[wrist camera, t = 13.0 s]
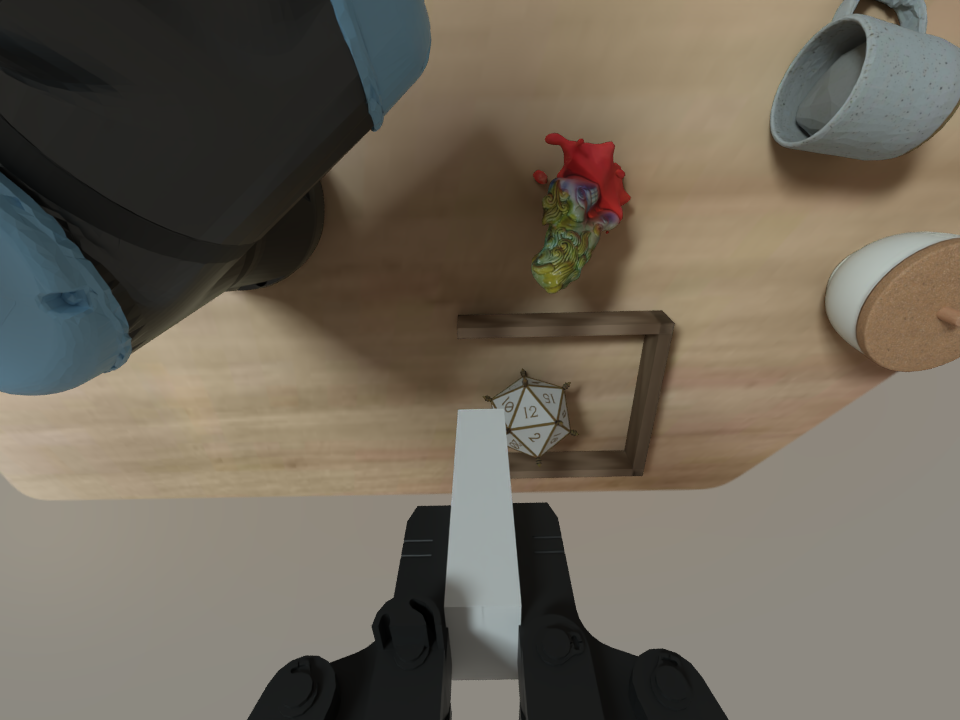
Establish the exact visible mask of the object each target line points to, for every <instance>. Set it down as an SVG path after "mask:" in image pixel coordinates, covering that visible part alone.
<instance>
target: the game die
mask: <svg viewBox="0 0 960 720" xmlns="http://www.w3.org/2000/svg"><path fill="white" fill-rule="evenodd" d="M520 373H521V375H522V378H520V379H519V380H517V381H516V382H515V383H513V384H512V385H510V386H509V387H508V388H506V389H505V390H503V391H502V392H501V393H499V394H498V395H496V396H495V397H493V398H490V396H488V395H487V396H483V398H484V399H485V401H487V402H488V401H490V402H491V405H492V409H504V415H505V426H506V437H507V447H510V448H512V449H515V450H517V451H520V452H522V453H525V454H527V455H530V456H532V457H535V458H536V464H537V465H538V466H539V468H540V466H541V464H542V463H541V461H542V460H541V459H540V457H541V456H542V455H544V454H545V453H546V452H547V451H548V450H550V449H551V448H552V447H553V446H554V445H556V444H557V443H558V442H559V441H560V440H562V439H563V438H564V437H565V436H567V435H568V434H569V433H570V434H571V435H574V436H576V435H579V434H578V433H577V432H576V431H574V430H571V429H570V422H569V416H568V410H567V403H566V397H565V391H564V390H565V389H568V387H569V386H570V383H571V382H568V383H566V382H565V384H563V387H560V386H556V385H553V384H550V383H546V382H543V381H540V380H536V379H533V378H529V377H526V371H524V370H523V368H522V371H521V372H520Z"/></svg>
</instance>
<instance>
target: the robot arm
mask: <svg viewBox="0 0 960 720" xmlns="http://www.w3.org/2000/svg"><path fill="white" fill-rule="evenodd" d="M430 46H431V33H430V22H429V17H428V13H427V10H426V6H425V3H424V0H0V391H1V392H5V393H8V394H15V395H48V394H54V393H59V392H63V391H67V390H70V389H73V388H75V387H78V386H80V385H82V384H84V383H85V382H87V381H89V380H91V379H93V378H94V377H96V376H98V375H100V374H102V373H107V372H110V371H112V370H116V369H118V368H119V367H121V366H122V365H123V364H124V363H126V362H127V360H128V358H129V356H130V354H132V353H133V352H135V351H136V350H138V349H139V348H141V347H142V346H144V345H145V344H147V343H148V342H150V341H151V340H153V339H154V338H156V337H157V336H159V335H160V334H162V333H163V332H165V331H166V330H168V329H169V328H171V327H172V326H174V325H175V324H177V323H178V322H180V321H181V320H183V319H184V318H186V317H187V316H189V315H190V314H192V313H193V312H195V311H196V310H198V309H199V308H201V307H202V306H204V305H205V304H207V303H208V302H210V301H211V300H213V299H214V298H216V297H217V296H219V295H220V294H222V293H223V292H227V291H236V290H252V289H259V288H263V287H267V286H270V285H272V284H275V283H277V282H279V281H281V280H283V279H285V278H286V277H288V276H289V275H291V274H292V273H293V272H294V271H296V270H297V269H298V268H299V267H301V266H302V265H303V264H304V263H305V262H306V261H307V260H308V258H309V257H310V256H311V254H312V253H313V251H314V250H315V248H316V246H317V244H318V241H319V239H320V236H321V233H322V228H323V223H324V198H323V191H322V187H321V183H320V179H321V178H322V177H323V176H324V175H325V174H326V173H327V172H328V171H329V170H330V169H331V168H332V167H333V166H334V165H335V164H336V163H337V162H338V161H339V160H340V159H341V158H342V157H343V156H344V155H345V154H346V153H347V152H348V151H349V150H350V149H351V148H352V147H353V146H354V145H355V144H356V143H357V142H358V141H359V140H360V139H361V138H362V137H363V136H364V135H365V134H366V133H367V132H368V131H369V130H370V129H371V130H372V131H373V132H376V131H377V130H378V129H380V127H381V125H382V123H383V119H384V116H385V115H386V113H387V112H388V111H389V110H390V109H391V108H392V107H393V106H394V105H395V104H396V102H397V101H398V100H399V99H400V98H401V97H402V96H403V95H404V94H405V93H406V92H407V90H408V89H409V88H410V87H411V86H412V85H413V84H414V83H415V82H416V81H417V79H418V78H419V77H420V76H421V74H422V73H423V71H424V69H425V67H426V65H427V63H428V59H429V53H430ZM401 555H402V556H401V559H400V565H399V571H398V576H397V582H396V588H395V593H394V598H392V599H391V600H389V601H387V602H386V603H385V604H384V605H383V607H382V608H381V609H380V610H379V611H378V612H377V614H376V617H375V619H374V622H373V624H372V630H373V634H374V638H375V641H374V642H373V643H372V644H371V645H369V646H368V647H367V648H365V649H363V650H361V651H359V652H357V653H355V654H352V655H350V656H347V657H344V658H341V659H339V660H336V661H333V662H331V663H329V662H328V661H327V660H325V659H323V658H321V657H320V656H303V657H301V658H297V659H295V660H292V661H291V662H289V663H288V664H287V665H285V666H284V667H283V668H281V669H280V670H279V671H278V672H277V673H276V675H275V676H274V677H273V678H272V680H271V681H270V682H269V684H268V685H267V687H266V688H265V690H264V692H263V693H262V695H261V697H260V699H259V700H258V702H257V704H256V705H255V707H254V709H253V711H252V712H251V714H250V716H249V717H248V719H247V720H451V719H452V718H451V717H452V711H451V703H450V700H451V679H452V680H500V679H518V680H519V692H520V693H519V694H520V710H519V720H728V718H727V716H726V715H725V713H724V712H723V710H722V708H721V707H720V705H719V704H718V702H717V700H716V699H715V697H714V696H713V694H712V693H711V691H710V689H709V687H708V686H707V684H706V683H705V681H704V679H703V678H702V676H701V675H700V674H699V673H698V671H697V670H696V669H695V668H694V667H693V665H692V664H691V663H690V662H688V661H687V660H686V659H684V658H683V657H681V656H680V655H678V654H677V653H675V652H672V651H668V650H666V649H649V650H648V651H646V652H644V653H643V654H641V655H639V657H638V656H635V655H632V654H629V653H627V652H624V651H620V650H617V649H614V648H612V647H610V646H607V645H605V644H603V643H601V642H599V641H598V640H597V639H596V638H594V637H593V636H592V635H591V634H590V633H589V632H588V631H587V630H586V628H585V627H584V626H583V624H582V622H581V620H580V619H579V616H578V613H577V610H576V606H575V601H574V596H573V591H572V587H571V581H570V576H569V571H568V566H567V561H566V556H565V553H564V547H563V541H562V538H561V531H560V526H559V521H558V517H557V516H556V515H555V513H554V512H553V510H552V509H551V507H550V506H549V504H548V503H512V495H511V482H510V471H509V460H508V449H507V437H506V426H505V415H504V409H460V410H458V418H457V432H456V446H455V460H454V474H453V488H452V502H451V506H450V505H449V506H417V508H416V509H415V511H414V512H413V514H412V515H411V517H410V518H409V520H408V521H407V526H406V532H405V538H404V544H403V548H402V554H401Z"/></svg>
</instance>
